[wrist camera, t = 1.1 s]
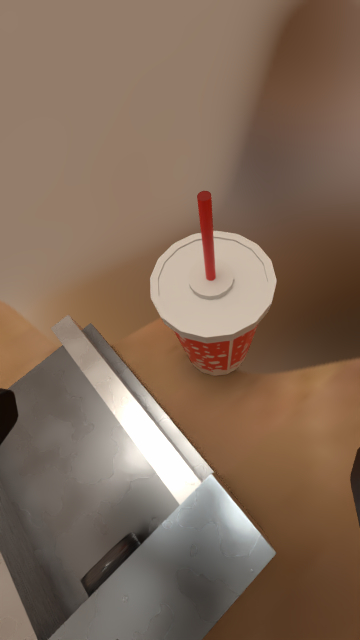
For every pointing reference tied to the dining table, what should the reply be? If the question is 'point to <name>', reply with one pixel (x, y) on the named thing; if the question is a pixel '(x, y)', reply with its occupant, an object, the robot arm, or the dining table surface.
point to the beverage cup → (213, 293)
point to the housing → (112, 510)
